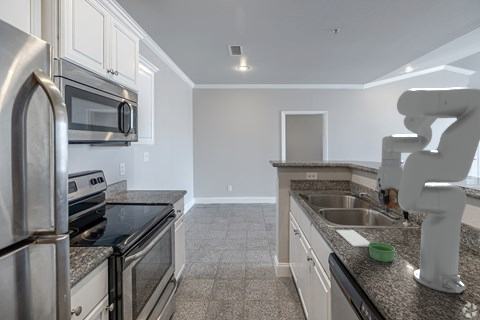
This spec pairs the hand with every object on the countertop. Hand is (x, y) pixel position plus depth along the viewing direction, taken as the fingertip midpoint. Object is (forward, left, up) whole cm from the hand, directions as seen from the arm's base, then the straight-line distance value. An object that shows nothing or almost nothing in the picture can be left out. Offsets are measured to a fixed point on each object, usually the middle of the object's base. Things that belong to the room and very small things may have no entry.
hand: (389, 203), depth 116 cm
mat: (+2, +15, -17) cm, 23 cm away
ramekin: (-18, +13, -17) cm, 28 cm away
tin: (0, 0, -2) cm, 2 cm away
